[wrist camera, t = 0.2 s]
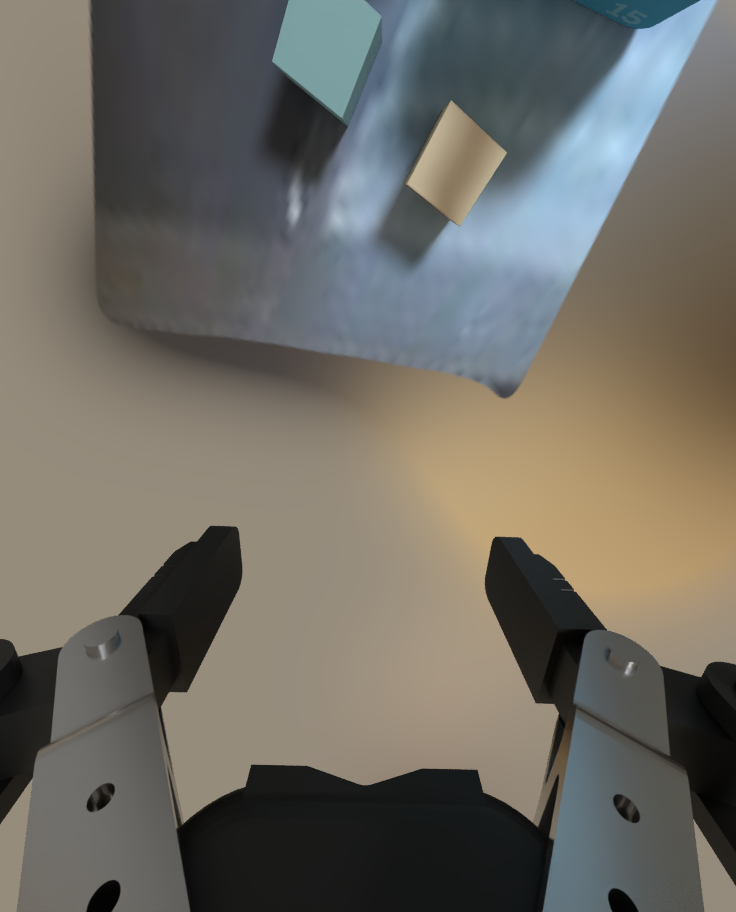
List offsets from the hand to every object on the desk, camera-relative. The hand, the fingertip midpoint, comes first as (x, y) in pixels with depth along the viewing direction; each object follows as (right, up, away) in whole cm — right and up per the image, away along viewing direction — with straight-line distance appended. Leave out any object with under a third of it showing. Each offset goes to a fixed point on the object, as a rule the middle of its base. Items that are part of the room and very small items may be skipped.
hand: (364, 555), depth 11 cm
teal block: (-2, +32, +14) cm, 35 cm away
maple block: (+7, +27, +18) cm, 33 cm away
